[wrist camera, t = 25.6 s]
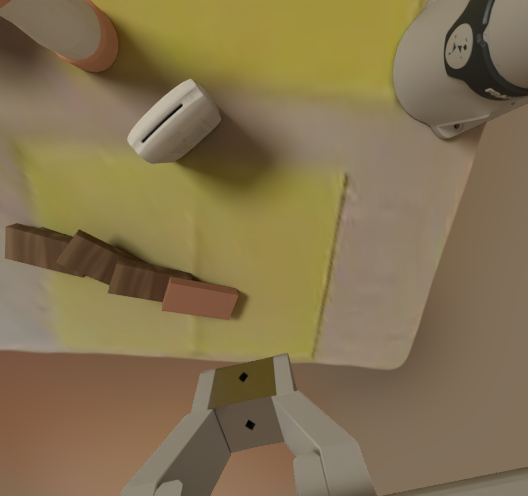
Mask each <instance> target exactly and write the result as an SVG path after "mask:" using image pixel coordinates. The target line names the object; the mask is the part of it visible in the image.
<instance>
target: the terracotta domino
mask: <svg viewBox="0 0 528 496" xmlns="http://www.w3.org/2000/svg"><path fill="white" fill-rule="evenodd" d="M238 296H239V294H238V292H237V289H235V288H230V287H224V286H219V285H214V284H208V283H203V282H197V281H192V280H187V279H181V278H176V277H170V280H169V283H168V286H167V290H166V293H165V296H164V299H163V302H162V311H168V312H175V313H182V314H190V315H197V316H205V317H212V318H219V319H227V320H229V318H230V316H231V313H232V311H233V308H234V306H235V303H236V301H237V298H238Z"/></svg>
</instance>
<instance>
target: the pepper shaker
mask: <svg viewBox="0 0 528 496" xmlns="http://www.w3.org/2000/svg"><path fill="white" fill-rule="evenodd" d="M0 16H1V17H3V18H4V19H6V20H8V21H10V22H12V23H13V24H14V25H16V26H17V27H18V28H19V29H21V30H22V31H23V32H24V33H26V34H27V35H28V36H30V37H31V38H32V39H33V40H35V41H36V42H37V43H39V44H40V45H42V46H44V47H46V48H48V49H50V50H52V51H53V52H55V53H56V54H57V55H58V56H59V57H60V58H61V59H63V60H65V61H67V62H69V63H71V64H73V65H75V66H77V67H79V68H81V69H83V70H85V71H89V72H95V73H96V72H101V71H104V70H106V69H108V68H109V67H111V65H112V64H113V63H114V61H115V60H116V57H117V54H118V50H119V49H118V37H117V33H116V30H115V28H114V26H113V24H112V22H111V21H110V19H109V18H108V17H107V16H106V15H105V14H104V13H103V12H102V11H101V10H100V9H99V8H98V7H97V6H96V5H95V4H94V3H92V2H91V1H90V0H0Z"/></svg>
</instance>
